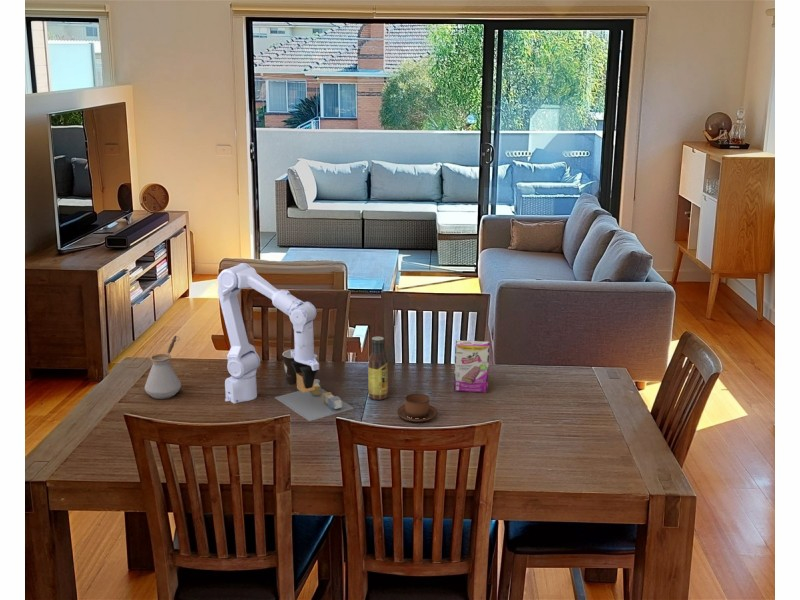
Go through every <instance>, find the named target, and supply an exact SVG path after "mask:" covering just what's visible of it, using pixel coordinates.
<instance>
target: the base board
mask: <svg viewBox="0 0 800 600" xmlns="http://www.w3.org/2000/svg"><path fill="white" fill-rule="evenodd" d="M325 393H328V391H327V390H325V389H324V388H322V387H321V395H312V392H311V393H310V391H308V392H304V393H303V392H301V391H300V390H297V391H294V392H291V393H286V394H283V395H278V396H274V399H276V400H277V401H279V402H280V403H282V404H283V405H284V406H286V407H287V408H289V409H290V410H292V411H293V412H295V414H298V415H299V416H301V418H304V419H306V420H307V421H308V422H311V421H314V420H315V421H316V420H318V419H322V418H326V417H329V416H333V415H336V414H339V413H344V412H346V411H350V410H351V411H352V410H353V409H355V407H354V406H351V405H350V404H348V403H346V402H345V401H343V400H341V401H342V407H341V408H340V409H336V410H333V411H331V410H330V409H328V404H327V403H323V398H322V394H325Z"/></svg>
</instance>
